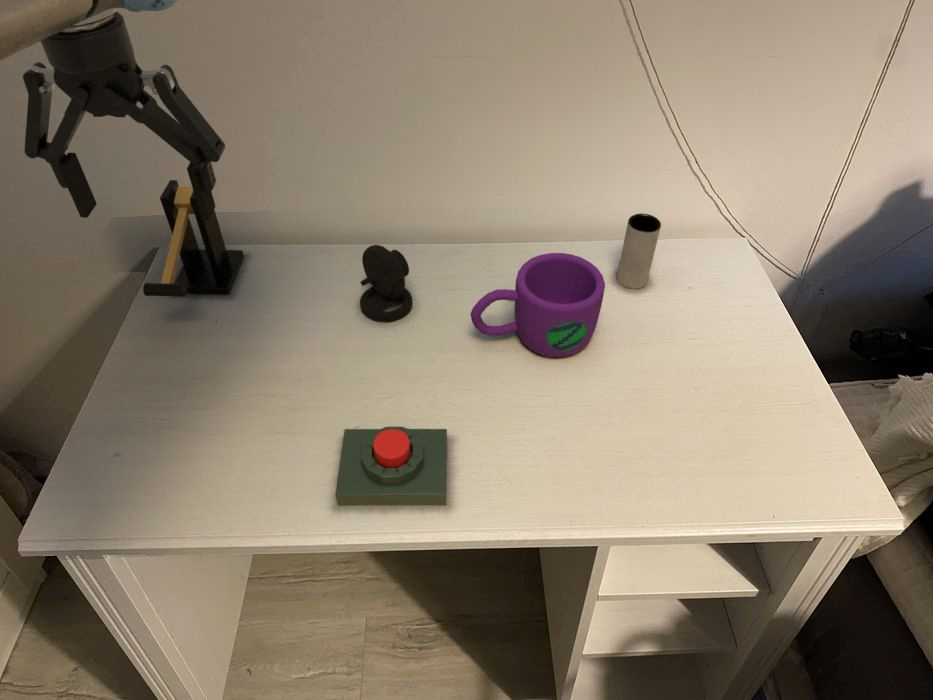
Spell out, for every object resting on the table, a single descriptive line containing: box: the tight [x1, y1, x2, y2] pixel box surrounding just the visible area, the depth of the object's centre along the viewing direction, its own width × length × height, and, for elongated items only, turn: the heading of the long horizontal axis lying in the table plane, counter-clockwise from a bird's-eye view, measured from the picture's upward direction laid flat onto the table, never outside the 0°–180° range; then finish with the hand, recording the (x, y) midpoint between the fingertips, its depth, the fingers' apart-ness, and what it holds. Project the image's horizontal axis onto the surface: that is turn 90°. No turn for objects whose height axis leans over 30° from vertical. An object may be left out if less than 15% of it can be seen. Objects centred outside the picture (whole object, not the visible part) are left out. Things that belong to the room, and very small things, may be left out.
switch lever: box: [142, 186, 195, 298], centre depth 94 cm, size 16×5×2 cm, turn 178°
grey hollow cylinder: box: [616, 213, 662, 290], centre depth 103 cm, size 4×4×10 cm
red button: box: [373, 429, 410, 468], centre depth 79 cm, size 4×4×2 cm
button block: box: [335, 426, 448, 506], centre depth 80 cm, size 12×9×4 cm
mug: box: [470, 252, 606, 358], centre depth 94 cm, size 17×11×10 cm, turn 100°
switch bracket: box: [159, 179, 245, 296], centre depth 101 cm, size 9×8×15 cm
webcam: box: [359, 244, 413, 323], centre depth 98 cm, size 8×8×10 cm
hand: (149, 212), depth 80 cm, fingers open, 13 cm apart
